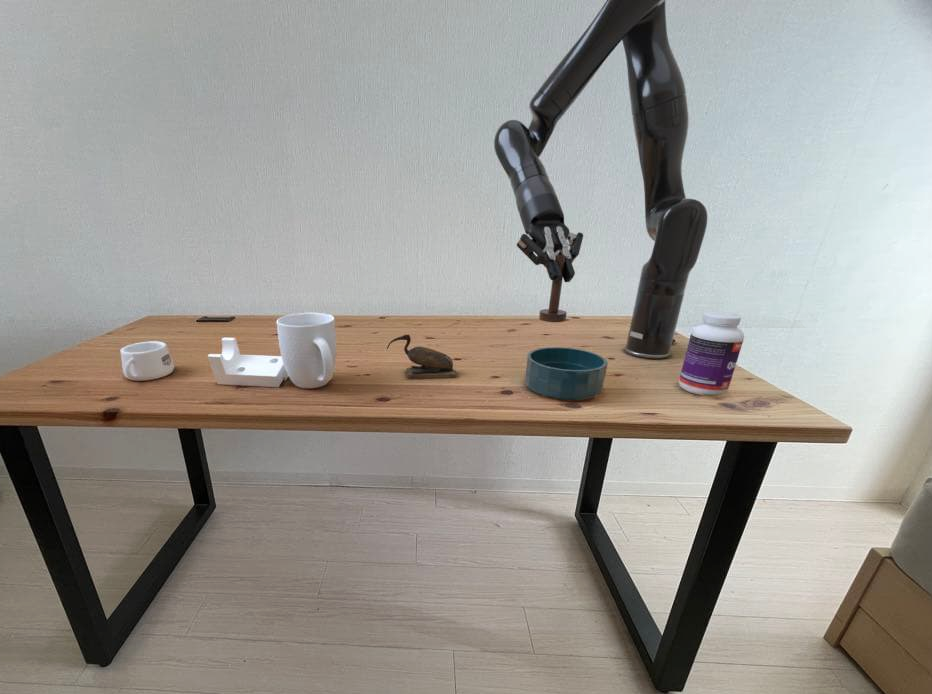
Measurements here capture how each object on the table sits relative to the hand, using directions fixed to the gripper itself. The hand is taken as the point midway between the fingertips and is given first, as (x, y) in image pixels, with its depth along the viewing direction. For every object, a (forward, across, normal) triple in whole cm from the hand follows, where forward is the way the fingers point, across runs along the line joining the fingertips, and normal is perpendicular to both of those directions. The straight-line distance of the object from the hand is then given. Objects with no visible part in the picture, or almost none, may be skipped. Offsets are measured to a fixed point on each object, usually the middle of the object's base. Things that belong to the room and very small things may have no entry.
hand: (563, 279), depth 84 cm
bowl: (+17, 0, +11) cm, 20 cm away
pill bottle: (+23, +25, +6) cm, 34 cm away
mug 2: (+7, -47, +21) cm, 52 cm away
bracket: (+4, -59, +24) cm, 64 cm away
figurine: (+7, -25, +21) cm, 33 cm away
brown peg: (+4, 0, +7) cm, 8 cm away
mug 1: (-2, -81, +30) cm, 86 cm away
